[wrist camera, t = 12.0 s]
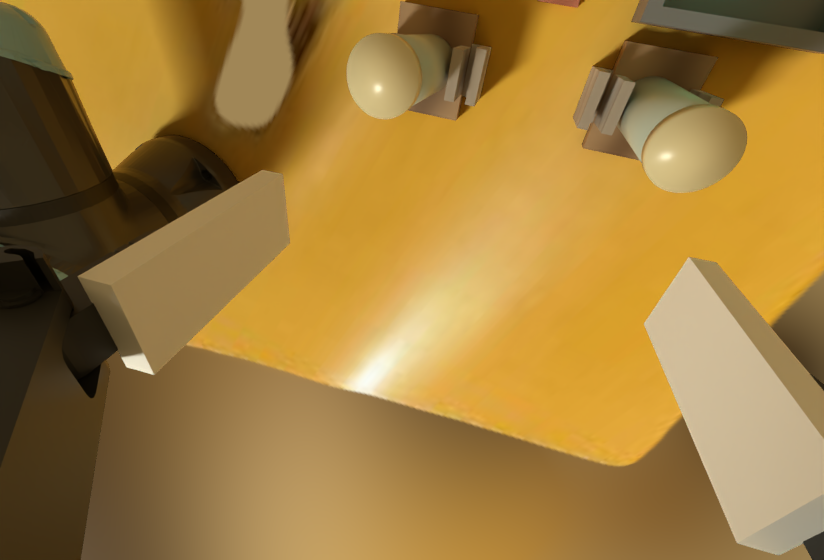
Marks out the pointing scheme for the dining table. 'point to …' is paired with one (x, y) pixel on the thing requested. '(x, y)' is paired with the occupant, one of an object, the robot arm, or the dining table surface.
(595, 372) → the dining table surface
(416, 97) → the cream round cylinder
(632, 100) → the fuse
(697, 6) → the tray
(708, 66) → the fuse clips
